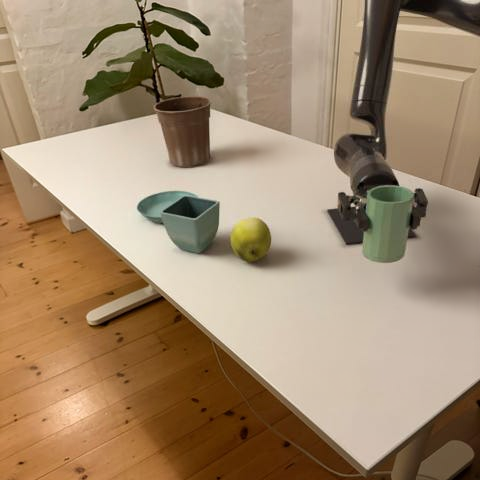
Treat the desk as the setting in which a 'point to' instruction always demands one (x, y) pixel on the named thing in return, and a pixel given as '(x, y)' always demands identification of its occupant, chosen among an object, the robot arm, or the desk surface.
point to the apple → (251, 239)
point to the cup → (387, 223)
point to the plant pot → (185, 129)
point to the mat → (351, 228)
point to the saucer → (159, 204)
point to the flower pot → (192, 222)
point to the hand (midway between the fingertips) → (390, 224)
